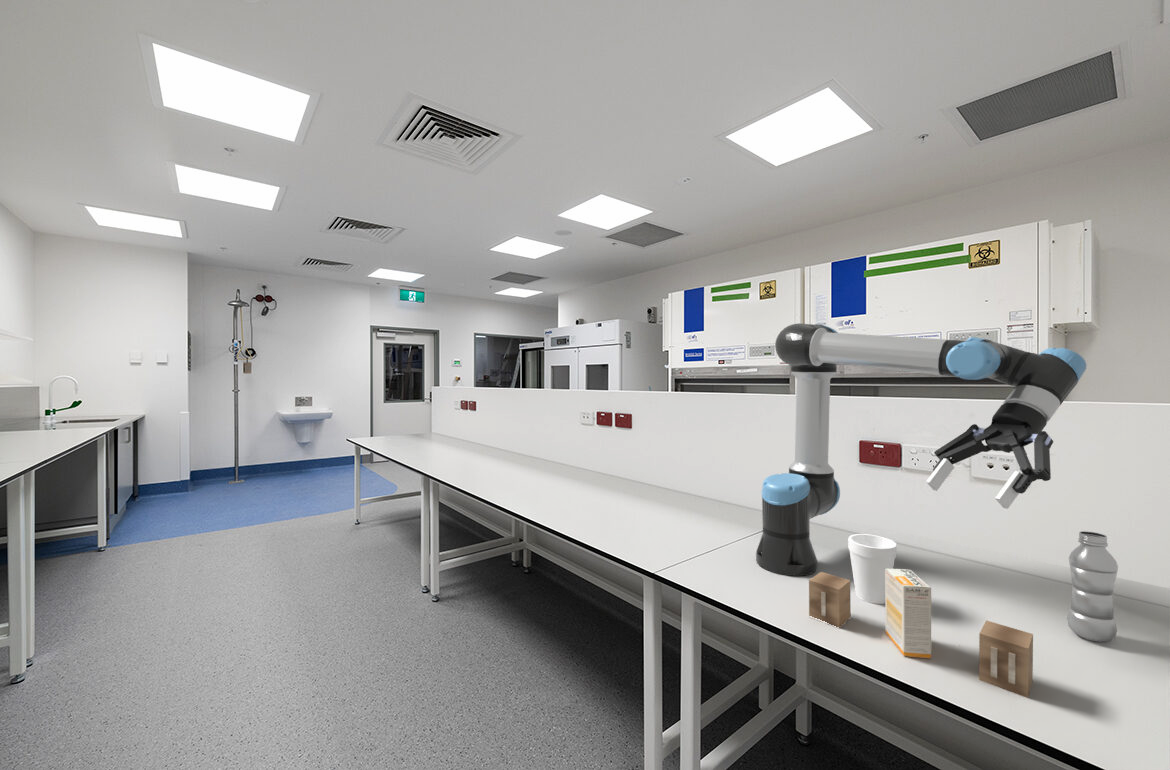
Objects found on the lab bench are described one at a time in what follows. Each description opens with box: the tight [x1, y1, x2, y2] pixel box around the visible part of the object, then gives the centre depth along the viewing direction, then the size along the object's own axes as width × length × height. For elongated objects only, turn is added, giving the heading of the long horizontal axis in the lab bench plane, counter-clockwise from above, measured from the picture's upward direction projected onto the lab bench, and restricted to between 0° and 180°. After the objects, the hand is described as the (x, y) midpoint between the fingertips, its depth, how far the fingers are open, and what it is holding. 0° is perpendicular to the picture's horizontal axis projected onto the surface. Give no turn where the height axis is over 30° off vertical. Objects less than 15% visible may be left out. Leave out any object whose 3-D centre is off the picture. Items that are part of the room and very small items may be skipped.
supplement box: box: [884, 568, 932, 659], centre depth 89 cm, size 8×5×13 cm, turn 168°
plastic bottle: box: [1066, 530, 1119, 643], centre depth 91 cm, size 6×7×20 cm
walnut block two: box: [978, 620, 1034, 699], centre depth 79 cm, size 6×6×8 cm
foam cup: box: [847, 533, 897, 605], centre depth 108 cm, size 10×9×13 cm
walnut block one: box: [808, 571, 852, 629], centre depth 100 cm, size 6×6×8 cm
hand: (963, 494), depth 92 cm, fingers open, 13 cm apart
